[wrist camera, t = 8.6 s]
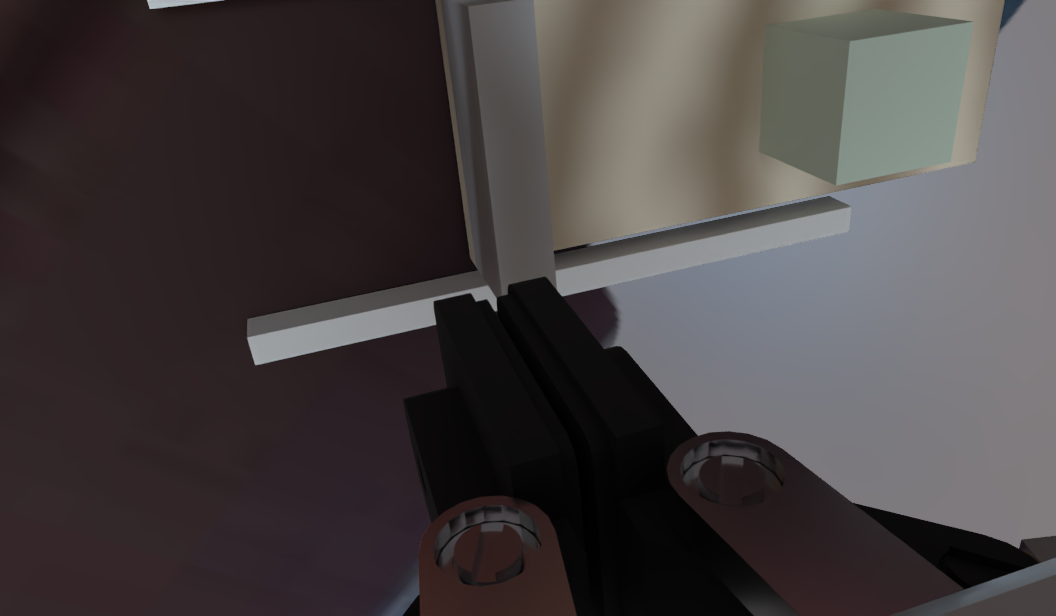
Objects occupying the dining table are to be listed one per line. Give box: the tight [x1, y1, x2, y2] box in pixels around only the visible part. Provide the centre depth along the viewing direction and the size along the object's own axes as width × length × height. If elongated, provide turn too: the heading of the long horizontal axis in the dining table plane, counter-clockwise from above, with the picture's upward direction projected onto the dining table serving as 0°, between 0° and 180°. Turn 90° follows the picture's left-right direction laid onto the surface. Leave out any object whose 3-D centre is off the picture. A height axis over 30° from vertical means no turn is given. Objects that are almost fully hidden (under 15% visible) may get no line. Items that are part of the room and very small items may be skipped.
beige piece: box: [435, 0, 1005, 299], centre depth 30 cm, size 24×10×5 cm, turn 96°
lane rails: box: [147, 0, 852, 365], centre depth 30 cm, size 26×14×2 cm, turn 96°
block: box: [759, 9, 974, 186], centre depth 30 cm, size 5×5×5 cm
